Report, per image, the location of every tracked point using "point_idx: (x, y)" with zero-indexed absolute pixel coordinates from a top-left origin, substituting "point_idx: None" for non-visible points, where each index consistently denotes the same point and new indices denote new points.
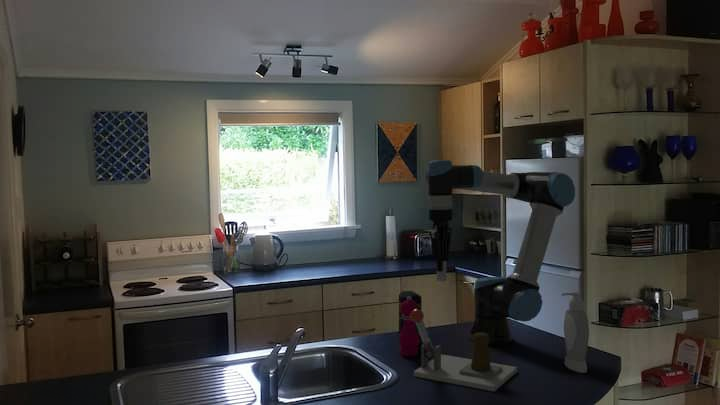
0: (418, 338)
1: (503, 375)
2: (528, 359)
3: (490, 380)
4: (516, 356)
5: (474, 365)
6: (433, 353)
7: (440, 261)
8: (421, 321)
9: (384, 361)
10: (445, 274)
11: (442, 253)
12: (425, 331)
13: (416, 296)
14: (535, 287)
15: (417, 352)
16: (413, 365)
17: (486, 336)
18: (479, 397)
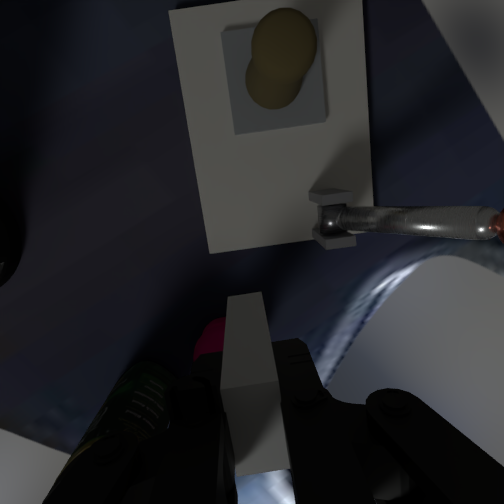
0: (216, 334)
1: (262, 7)
2: (44, 43)
3: (322, 19)
4: (45, 89)
5: (301, 82)
6: (343, 203)
7: (337, 401)
8: (494, 210)
9: (317, 346)
10: (242, 315)
11: (350, 476)
12: (436, 206)
13: None
14: None
15: (221, 319)
16: (301, 275)
17: (293, 9)
18: (415, 3)
